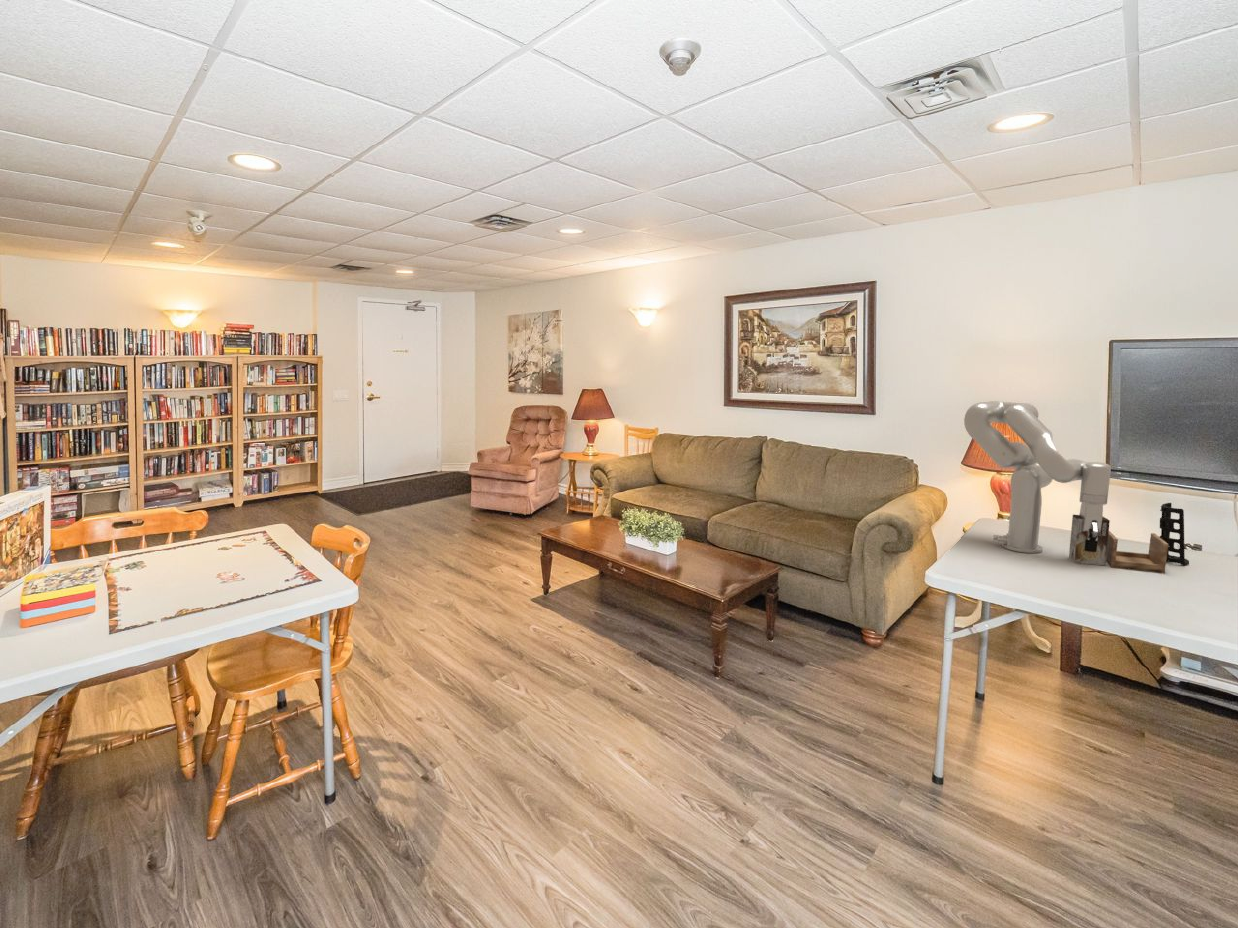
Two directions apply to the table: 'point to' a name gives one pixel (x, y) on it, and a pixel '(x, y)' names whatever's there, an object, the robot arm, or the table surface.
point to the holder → (1168, 527)
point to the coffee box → (1078, 543)
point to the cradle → (1138, 556)
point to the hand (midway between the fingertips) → (1088, 548)
